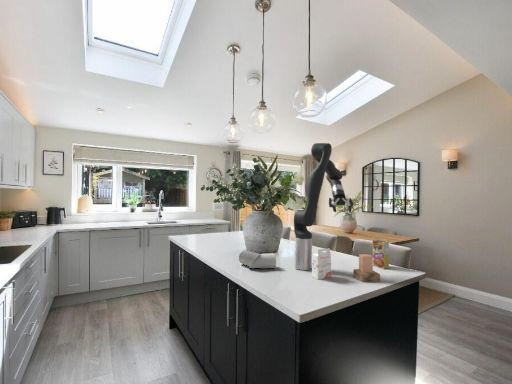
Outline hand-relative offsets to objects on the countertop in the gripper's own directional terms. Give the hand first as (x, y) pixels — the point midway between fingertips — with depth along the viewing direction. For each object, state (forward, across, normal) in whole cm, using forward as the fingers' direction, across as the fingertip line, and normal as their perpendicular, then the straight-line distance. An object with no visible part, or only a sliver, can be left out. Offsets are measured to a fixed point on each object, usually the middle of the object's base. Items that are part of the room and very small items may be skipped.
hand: (342, 211), depth 158 cm
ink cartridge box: (+41, -17, +4) cm, 45 cm away
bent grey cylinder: (+30, -51, +16) cm, 61 cm away
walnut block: (+42, +5, +4) cm, 42 cm away
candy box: (+24, +22, +22) cm, 39 cm away
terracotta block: (+38, +5, +2) cm, 39 cm away
